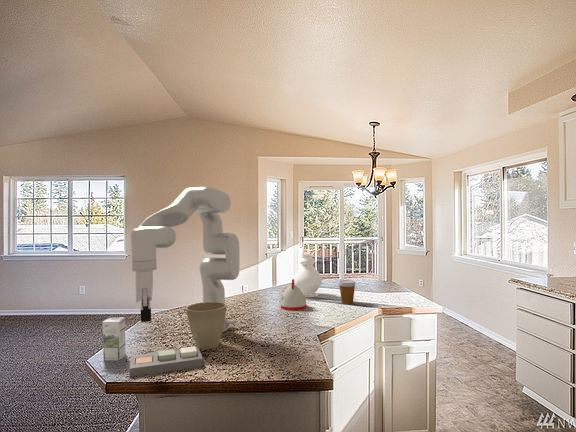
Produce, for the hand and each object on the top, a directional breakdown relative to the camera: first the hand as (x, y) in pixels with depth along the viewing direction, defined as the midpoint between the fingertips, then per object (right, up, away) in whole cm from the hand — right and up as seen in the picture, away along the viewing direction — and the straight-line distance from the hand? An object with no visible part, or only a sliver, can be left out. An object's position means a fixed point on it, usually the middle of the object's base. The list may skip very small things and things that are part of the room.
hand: (146, 321), depth 127 cm
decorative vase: (+59, -15, +112) cm, 127 cm away
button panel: (+7, -16, 0) cm, 17 cm away
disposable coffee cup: (+80, -14, +88) cm, 120 cm away
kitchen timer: (+50, -15, +81) cm, 96 cm away
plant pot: (+16, -16, +19) cm, 29 cm away
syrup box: (-14, -16, +8) cm, 23 cm away
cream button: (+13, -13, +3) cm, 19 cm away
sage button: (+7, -13, 0) cm, 15 cm away
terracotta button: (0, -15, -2) cm, 15 cm away
